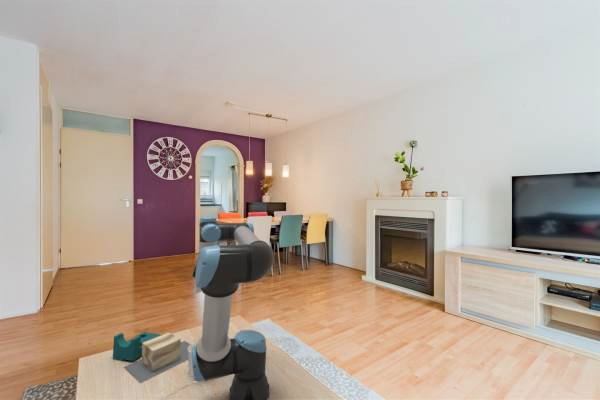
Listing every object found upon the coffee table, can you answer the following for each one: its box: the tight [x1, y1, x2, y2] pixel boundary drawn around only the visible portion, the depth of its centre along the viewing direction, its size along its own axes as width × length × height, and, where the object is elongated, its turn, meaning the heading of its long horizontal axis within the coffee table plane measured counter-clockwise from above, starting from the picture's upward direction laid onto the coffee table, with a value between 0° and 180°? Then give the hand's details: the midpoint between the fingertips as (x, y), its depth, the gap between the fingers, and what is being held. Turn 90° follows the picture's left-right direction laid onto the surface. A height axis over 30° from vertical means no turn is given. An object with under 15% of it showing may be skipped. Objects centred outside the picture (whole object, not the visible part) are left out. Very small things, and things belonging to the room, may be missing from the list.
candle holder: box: [187, 340, 199, 382], centre depth 118 cm, size 10×10×12 cm
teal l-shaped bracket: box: [112, 331, 162, 362], centre depth 133 cm, size 18×11×10 cm, turn 167°
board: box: [123, 340, 192, 384], centre depth 126 cm, size 16×28×2 cm, turn 143°
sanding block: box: [141, 332, 182, 372], centre depth 124 cm, size 10×12×9 cm
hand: (206, 295), depth 130 cm, fingers open, 13 cm apart
